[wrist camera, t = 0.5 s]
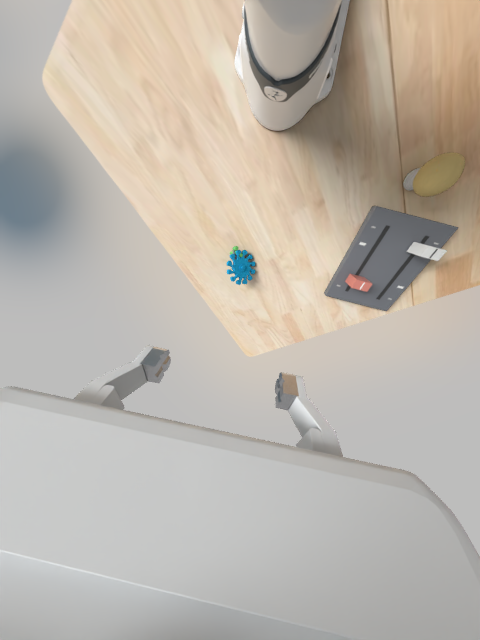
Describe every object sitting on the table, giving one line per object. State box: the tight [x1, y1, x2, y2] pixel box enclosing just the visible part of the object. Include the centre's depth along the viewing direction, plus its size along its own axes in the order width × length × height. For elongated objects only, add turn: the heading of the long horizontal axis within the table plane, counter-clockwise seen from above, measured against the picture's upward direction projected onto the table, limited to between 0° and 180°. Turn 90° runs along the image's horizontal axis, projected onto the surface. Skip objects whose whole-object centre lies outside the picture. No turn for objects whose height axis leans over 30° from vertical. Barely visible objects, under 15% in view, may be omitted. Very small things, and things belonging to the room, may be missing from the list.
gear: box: [227, 246, 255, 285], centre depth 52 cm, size 11×6×10 cm
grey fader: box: [406, 242, 447, 261], centre depth 41 cm, size 2×4×5 cm, turn 78°
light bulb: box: [403, 153, 465, 197], centre depth 34 cm, size 6×6×10 cm
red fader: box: [345, 274, 372, 292], centre depth 47 cm, size 2×4×5 cm, turn 78°
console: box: [324, 206, 458, 311], centre depth 47 cm, size 24×20×2 cm
